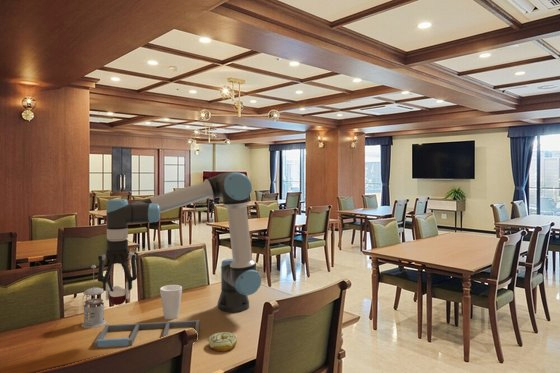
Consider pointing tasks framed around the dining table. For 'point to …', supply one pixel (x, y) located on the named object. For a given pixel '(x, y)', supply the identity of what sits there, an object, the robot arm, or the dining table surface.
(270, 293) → the dining table surface
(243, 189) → the robot arm
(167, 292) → the foam cup
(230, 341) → the decorated donut
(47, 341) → the dining table surface
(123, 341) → the organizer
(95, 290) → the french press
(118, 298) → the cocoa
